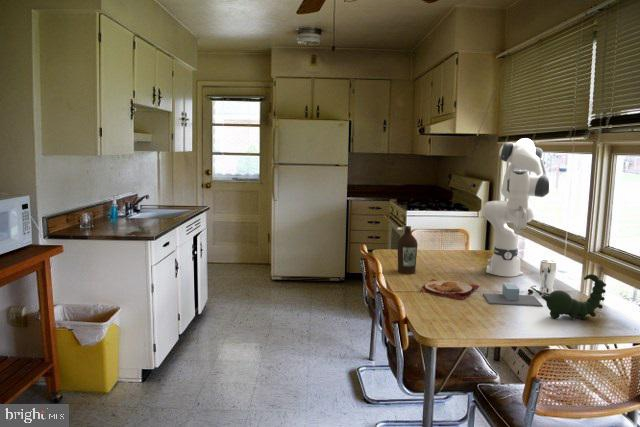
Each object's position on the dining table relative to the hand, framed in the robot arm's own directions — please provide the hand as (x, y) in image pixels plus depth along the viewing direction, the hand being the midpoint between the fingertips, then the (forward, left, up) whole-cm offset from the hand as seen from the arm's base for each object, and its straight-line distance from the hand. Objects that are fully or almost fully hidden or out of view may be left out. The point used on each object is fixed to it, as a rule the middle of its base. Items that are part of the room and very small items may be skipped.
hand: (516, 234), depth 232 cm
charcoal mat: (+16, -4, -27) cm, 32 cm away
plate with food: (+4, -31, -28) cm, 42 cm away
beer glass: (0, +15, -27) cm, 31 cm away
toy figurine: (+36, +14, -27) cm, 48 cm away
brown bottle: (-27, -49, -27) cm, 62 cm away
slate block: (+8, -4, -24) cm, 26 cm away
